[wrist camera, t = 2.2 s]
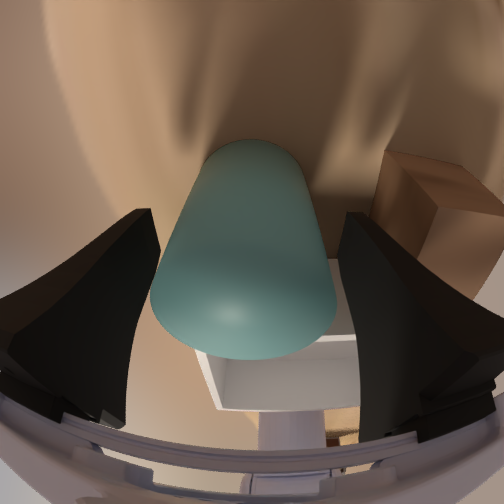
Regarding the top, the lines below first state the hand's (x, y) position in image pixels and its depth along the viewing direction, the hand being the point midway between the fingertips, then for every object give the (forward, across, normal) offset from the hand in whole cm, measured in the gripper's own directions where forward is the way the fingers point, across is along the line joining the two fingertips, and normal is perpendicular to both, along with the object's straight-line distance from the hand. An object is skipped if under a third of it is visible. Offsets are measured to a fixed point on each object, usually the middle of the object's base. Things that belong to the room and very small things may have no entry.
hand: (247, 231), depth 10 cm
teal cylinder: (+3, 0, 0) cm, 3 cm away
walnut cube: (+3, -8, 0) cm, 9 cm away
